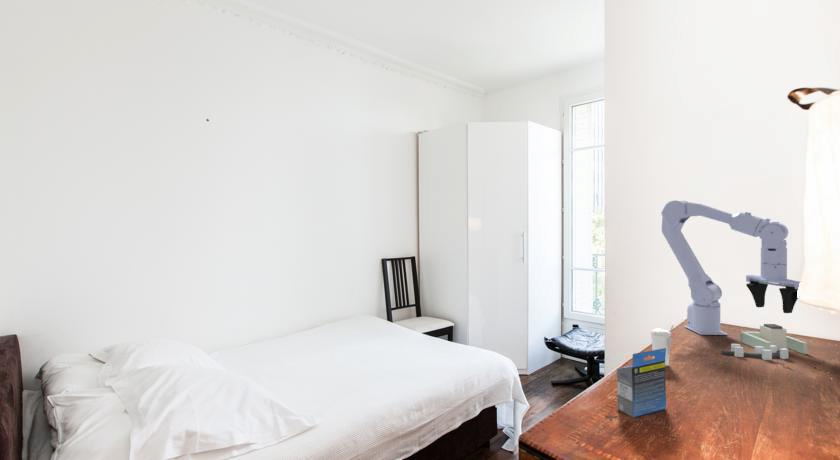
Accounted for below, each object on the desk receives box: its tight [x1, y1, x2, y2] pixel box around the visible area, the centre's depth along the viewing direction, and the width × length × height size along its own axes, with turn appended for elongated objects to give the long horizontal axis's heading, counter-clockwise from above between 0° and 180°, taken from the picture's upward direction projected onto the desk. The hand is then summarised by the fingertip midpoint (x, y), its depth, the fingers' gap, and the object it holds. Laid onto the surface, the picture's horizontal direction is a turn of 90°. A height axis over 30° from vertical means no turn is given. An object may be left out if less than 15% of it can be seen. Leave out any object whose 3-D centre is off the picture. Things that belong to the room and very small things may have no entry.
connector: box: [759, 323, 788, 352], centre depth 111 cm, size 4×4×7 cm
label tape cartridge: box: [616, 348, 667, 418], centre depth 77 cm, size 9×4×12 cm, turn 110°
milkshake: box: [650, 325, 674, 367], centre depth 100 cm, size 4×5×10 cm
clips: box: [730, 343, 789, 361], centre depth 105 cm, size 6×12×2 cm, turn 84°
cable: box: [719, 349, 790, 359], centre depth 105 cm, size 4×17×1 cm, turn 84°
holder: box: [739, 331, 808, 355], centre depth 111 cm, size 10×10×3 cm
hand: (773, 309), depth 115 cm, fingers open, 7 cm apart
